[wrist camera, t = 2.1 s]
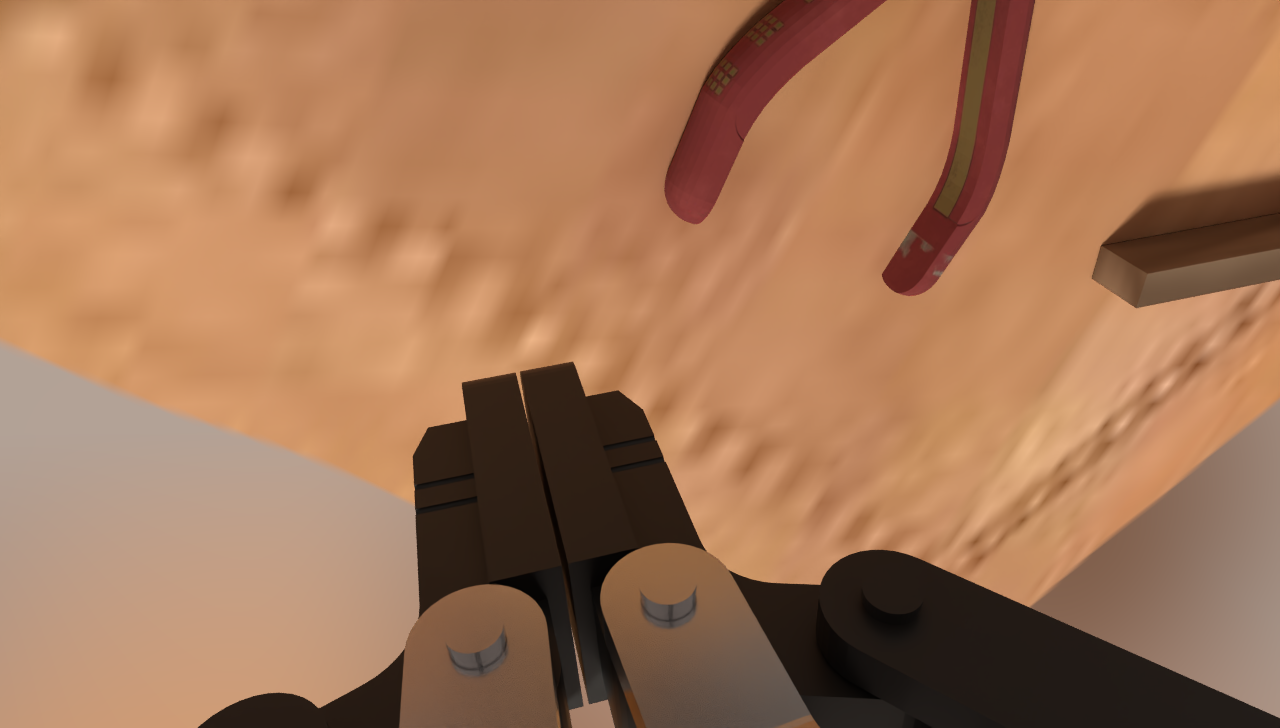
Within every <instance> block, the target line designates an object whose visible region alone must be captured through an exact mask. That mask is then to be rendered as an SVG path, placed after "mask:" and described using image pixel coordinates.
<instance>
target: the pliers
mask: <svg viewBox="0 0 1280 728" xmlns="http://www.w3.org/2000/svg"><path fill="white" fill-rule="evenodd" d="M885 1H886V0H784V1H783V2H782V3H781V4H779V5H778V6H777V7H776V8H774V9H773V10H772V11H771V12H770V13H768V14H767V15H766V16H765V17H763V18H762V19H761V20H760V21H759V22H758V23H757V24H756V25H755V26H754V27H753V28H752V29H750V30H749V31H748V32H747V33H746V34H745V35H744V36H743V37H742V38H741V39H740V40H739V42H738V43H737V44H736V45H735V46H734V47H733V48H732V49H731V50H730V51H729V52H728V53H727V55H726V56H725V57H724V58H723V59H722V60H721V62H720V63H719V64H718V65H717V66H716V68H715V69H714V71H713V72H712V74H711V75H710V77H709V78H708V80H707V81H706V83H705V84H704V86H703V87H702V89H701V92H700V94H699V97H698V99H697V102H696V104H695V106H694V109H693V111H692V114H691V116H690V119H689V121H688V123H687V126H686V128H685V131H684V133H683V136H682V138H681V141H680V143H679V145H678V148H677V150H676V153H675V155H674V158H673V160H672V162H671V165H670V167H669V170H668V172H667V175H666V180H665V196H666V200H667V203H668V205H669V207H670V208H671V210H672V211H673V212H674V213H675V214H676V215H677V216H678V217H679V218H681V219H682V220H684V221H687V222H690V223H693V224H699V223H701V222H702V221H703V220H704V219H705V218H706V217H707V216H708V214H709V213H710V211H711V210H712V208H713V206H714V205H715V203H716V201H717V199H718V196H719V194H720V192H721V190H722V188H723V185H724V183H725V181H726V179H727V177H728V175H729V172H730V170H731V168H732V166H733V164H734V161H735V159H736V157H737V155H738V153H739V150H740V148H741V146H742V144H743V142H744V138H745V137H746V135H747V133H748V132H749V130H750V128H751V126H752V125H753V123H754V122H755V120H756V119H757V117H758V116H759V114H760V113H761V112H762V110H763V109H764V107H765V106H766V105H767V104H768V103H769V101H770V100H771V99H772V98H773V97H774V95H775V94H776V93H777V92H778V91H779V90H780V89H781V88H782V87H783V86H784V85H785V84H786V83H787V82H788V81H789V80H790V79H791V78H792V77H793V76H794V75H795V74H796V73H797V72H798V71H799V70H801V69H802V68H803V67H804V66H805V65H806V64H808V63H809V62H810V61H811V60H813V59H814V58H815V57H816V56H818V55H819V54H820V53H821V52H823V51H824V50H825V49H826V48H828V47H829V46H830V45H831V44H833V43H834V42H835V41H836V40H838V39H839V38H840V37H841V36H843V35H844V34H845V33H846V32H847V31H849V30H850V29H851V28H852V27H854V26H855V25H856V24H857V23H859V22H860V21H861V20H862V19H864V18H865V17H866V16H867V15H869V14H870V13H871V12H872V11H874V10H875V9H876V8H877V7H879V6H880V5H881V4H882V3H884V2H885ZM1034 3H1035V0H972V2H971V9H970V16H969V23H968V31H967V38H966V45H965V52H964V59H963V67H962V74H961V81H960V88H959V95H958V102H957V110H956V117H955V124H954V131H953V136H952V141H951V145H950V149H949V153H948V157H947V160H946V163H945V166H944V169H943V172H942V175H941V177H940V180H939V182H938V184H937V186H936V189H935V191H934V192H933V194H932V196H931V198H930V200H929V202H928V204H927V205H926V207H925V208H924V210H923V211H922V213H921V214H920V216H919V217H918V219H917V221H916V222H915V224H914V225H913V227H912V228H911V230H910V231H909V233H908V234H907V236H906V238H905V239H904V241H903V242H902V244H901V245H900V247H899V248H898V250H897V252H896V253H895V255H894V256H893V258H892V259H891V261H890V263H889V264H888V266H887V267H886V269H885V270H884V272H883V274H882V277H883V280H884V282H885V283H886V285H887V286H888V287H889V288H890V289H891V290H893V291H894V292H896V293H899V294H902V295H907V296H915V295H919V294H921V293H923V292H925V291H927V290H928V289H930V288H931V287H932V286H933V285H934V284H935V283H936V282H937V280H938V279H939V277H940V276H941V274H942V273H943V272H944V270H945V269H946V267H947V266H948V264H949V263H950V262H951V260H952V259H953V257H954V256H955V254H956V253H957V252H958V250H959V249H960V247H961V246H962V245H963V243H964V242H965V240H966V239H967V237H968V236H969V235H970V233H971V232H972V230H973V229H974V227H975V226H976V225H977V223H978V222H979V220H980V219H981V217H982V216H983V215H984V213H985V211H986V209H987V207H988V205H989V203H990V201H991V199H992V196H993V194H994V192H995V189H996V186H997V183H998V180H999V178H1000V174H1001V171H1002V168H1003V165H1004V161H1005V158H1006V154H1007V150H1008V146H1009V142H1010V136H1011V131H1012V125H1013V120H1014V114H1015V109H1016V103H1017V97H1018V92H1019V86H1020V81H1021V75H1022V70H1023V64H1024V59H1025V53H1026V48H1027V42H1028V36H1029V31H1030V25H1031V20H1032V14H1033V9H1034Z"/></svg>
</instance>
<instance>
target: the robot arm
mask: <svg viewBox="0 0 1280 728" xmlns="http://www.w3.org/2000/svg"><path fill="white" fill-rule="evenodd" d="M520 377H521V384H522V390H523V396H524V402H525V408H526V414H527V418H526V414H525V410H524V405H523V401H522V397H521V393H520V388H519V384H518V380H517V376H516V373H511V374H506V375H500V376H495V377H490V378H484V379H479V380H473V381H468V382H463V383H462V390H463V397H464V404H465V412H466V419H467V420H465V421H460V422H455V423H450V424H444V425H439V426H434V427H429V428H428V429H427V431H426V433H425V434H424V436H423V438H422V440H421V442H420V444H419V446H418V447H417V449H416V451H415V453H414V455H413V469H414V486H415V491H414V492H415V510H416V535H417V558H418V578H419V579H418V580H419V602H420V609H419V618H418V620H417V622H416V623H415V625H414V626H413V628H412V630H411V631H410V633H409V636H408V639H407V641H406V646H405V649H404V650H403V652H402V653H401V654H400V655H399V656H398V658H397V659H396V660H395V661H394V662H393V663H392V664H391V665H390V666H389V667H388V668H386V669H385V670H384V671H383V672H381V673H380V674H379V675H378V676H376V677H375V678H373V679H372V680H370V681H368V682H367V683H365V684H363V685H362V686H360V687H358V688H356V689H355V690H353V691H351V692H349V693H347V694H345V695H343V696H341V697H340V698H338V699H336V700H334V701H332V702H330V703H328V704H327V705H325V706H323V707H321V708H317V707H316V706H315V705H314V704H313V703H312V702H310V701H308V700H307V699H305V698H303V697H300V696H297V695H294V694H286V693H268V694H263V695H257V696H253V697H250V698H247V699H244V700H241V701H239V702H237V703H234V704H232V705H230V706H228V707H226V708H225V709H223V710H221V711H219V712H218V713H216V714H215V715H213V716H212V717H210V718H209V719H208V720H206V721H205V722H204V723H203V724H201V725H200V726H199V727H198V728H572V725H571V719H570V713H569V710H571V709H575V708H578V707H582V706H583V700H582V694H581V687H580V681H579V674H578V668H577V662H576V655H575V649H574V642H573V637H574V640H575V645H576V650H577V654H578V658H579V663H580V667H581V671H582V676H583V680H584V684H585V688H586V692H587V697H588V701H589V704H592V703H596V702H600V701H604V700H608V701H609V705H610V710H611V714H612V717H613V721H614V725H615V728H1280V718H1278V717H1276V716H1273V715H1271V714H1269V713H1267V712H1265V711H1262V710H1260V709H1258V708H1255V707H1253V706H1251V705H1248V704H1246V703H1244V702H1242V701H1239V700H1237V699H1235V698H1233V697H1230V696H1228V695H1226V694H1224V693H1222V692H1219V691H1217V690H1215V689H1212V688H1210V687H1208V686H1206V685H1203V684H1201V683H1199V682H1197V681H1194V680H1192V679H1190V678H1187V677H1185V676H1183V675H1181V674H1178V673H1176V672H1174V671H1172V670H1169V669H1167V668H1165V667H1163V666H1160V665H1158V664H1156V663H1154V662H1151V661H1149V660H1147V659H1145V658H1142V657H1140V656H1138V655H1136V654H1133V653H1131V652H1128V651H1126V650H1124V649H1122V648H1120V647H1117V646H1115V645H1113V644H1111V643H1108V642H1106V641H1104V640H1102V639H1099V638H1097V637H1095V636H1092V635H1090V634H1088V633H1085V632H1083V631H1081V630H1079V629H1077V628H1074V627H1072V626H1070V625H1068V624H1065V623H1063V622H1061V621H1059V620H1056V619H1054V618H1052V617H1049V616H1047V615H1045V614H1043V613H1041V612H1038V611H1036V610H1034V609H1032V608H1029V607H1027V606H1025V605H1022V604H1020V603H1018V602H1016V601H1013V600H1011V599H1009V598H1007V597H1004V596H1002V595H1000V594H998V593H995V592H993V591H991V590H989V589H986V588H984V587H982V586H979V585H977V584H975V583H973V582H970V581H968V580H966V579H964V578H961V577H959V576H957V575H955V574H952V573H950V572H948V571H946V570H943V569H941V568H939V567H936V566H934V565H932V564H930V563H927V562H925V561H923V560H921V559H918V558H916V557H913V556H910V555H908V554H904V553H900V552H896V551H888V550H868V551H861V552H857V553H854V554H851V555H848V556H846V557H844V558H842V559H840V560H839V561H838V562H836V563H835V564H833V565H832V566H831V568H830V569H829V570H828V571H827V572H826V574H825V576H824V577H823V579H822V582H821V585H809V584H782V583H768V582H761V581H756V580H752V579H749V578H746V577H743V576H740V575H738V574H736V573H734V572H732V571H729V570H728V569H727V568H726V566H725V565H724V564H723V563H722V562H721V561H720V560H719V559H717V558H716V557H714V556H713V555H711V554H710V553H708V552H707V551H706V550H705V548H704V547H703V545H702V543H701V541H700V539H699V537H698V535H697V532H696V530H695V528H694V525H693V523H692V521H691V519H690V516H689V514H688V512H687V509H686V507H685V505H684V503H683V500H682V498H681V496H680V493H679V491H678V489H677V487H676V484H675V482H674V480H673V477H672V475H671V473H670V470H669V468H668V466H667V464H666V462H664V458H663V454H662V452H661V450H660V448H659V445H658V443H657V441H655V438H654V434H653V432H652V429H651V427H650V425H649V422H648V420H647V418H646V416H645V413H644V411H643V409H641V408H640V407H639V406H638V405H636V404H635V403H634V402H632V401H631V400H630V399H629V398H627V397H626V396H625V395H623V394H622V393H621V392H620V391H612V392H607V393H602V394H597V395H592V396H587V397H586V396H585V393H584V390H583V387H582V385H581V382H580V379H579V376H578V373H577V370H576V367H575V365H574V363H573V362H569V363H563V364H558V365H553V366H547V367H542V368H536V369H531V370H526V371H520ZM527 420H528V422H527ZM571 628H572V630H571ZM572 632H573V636H572Z"/></svg>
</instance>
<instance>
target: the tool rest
mask: <svg viewBox="0 0 1280 728" xmlns="http://www.w3.org/2000/svg"><path fill="white" fill-rule="evenodd" d="M1092 279H1093V280H1095V281H1096V282H1098V283H1099V284H1101V285H1102V286H1104V287H1105V288H1107V289H1108V290H1110V291H1111V292H1113V293H1114V294H1116V295H1117V296H1119V297H1120V298H1122V299H1123V300H1125V301H1126V302H1128V303H1129V304H1131V305H1132V306H1134V307H1135V308H1139V307H1144V306H1149V305H1154V304H1159V303H1164V302H1169V301H1174V300H1179V299H1184V298H1189V297H1195V296H1200V295H1205V294H1210V293H1215V292H1220V291H1225V290H1230V289H1235V288H1240V287H1245V286H1250V285H1255V284H1260V283H1265V282H1270V281H1275V280H1280V213H1279V214H1273V215H1268V216H1262V217H1257V218H1251V219H1246V220H1240V221H1235V222H1229V223H1224V224H1218V225H1213V226H1207V227H1202V228H1196V229H1191V230H1185V231H1180V232H1175V233H1169V234H1164V235H1158V236H1153V237H1147V238H1142V239H1136V240H1131V241H1125V242H1120V243H1114V244H1109V245H1103V246H1101V249H1100V253H1099V256H1098V260H1097V263H1096V266H1095V270H1094V273H1093V277H1092Z"/></svg>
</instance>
